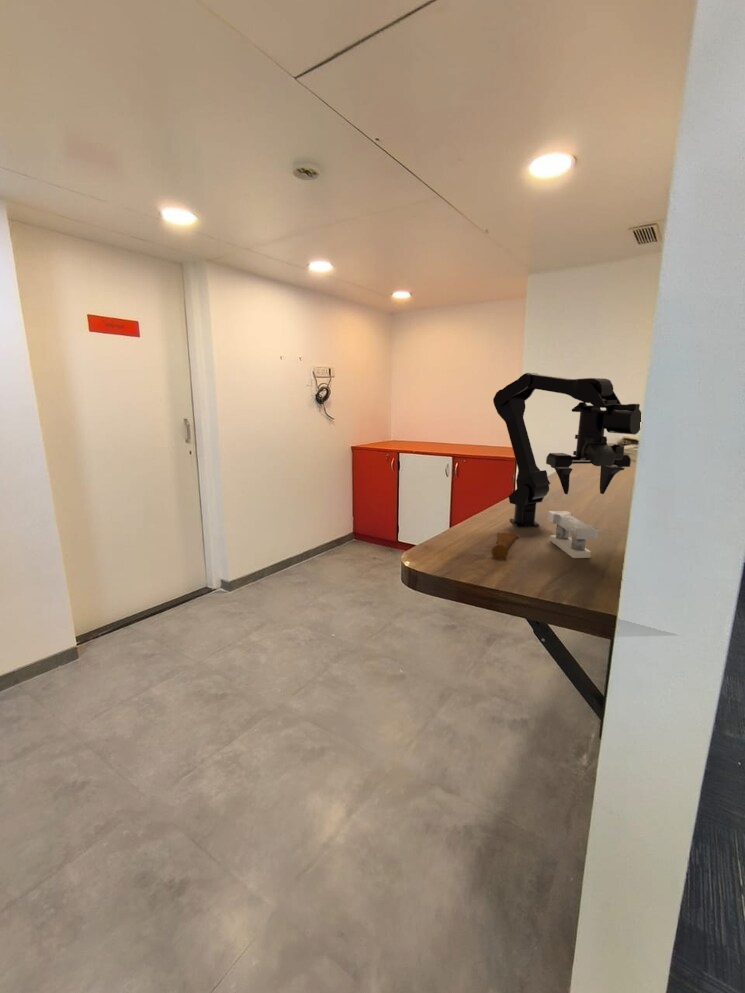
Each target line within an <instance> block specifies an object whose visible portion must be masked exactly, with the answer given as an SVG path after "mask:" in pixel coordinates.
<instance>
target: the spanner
mask: <svg viewBox="0 0 745 993" xmlns="http://www.w3.org/2000/svg"><path fill="white" fill-rule="evenodd" d="M547 514H548V515H547V521H548V522H550V523H551V524H553V525H555V524H556V525H557V524H558V525H560V526H561V527H563V528H564V529H566V530H567V531H569V536H570V537H571V538H572V537H574V538H575V539H586V540H598V538H599V537H598V536H599V530H600V528H599V527H596V526H595V525H593V524H587V523H585V522H583V521H581V520H580V519H578V518H576V517H575V516H574V514H573V513H571V512H569V511H568V510H548V513H547Z"/></svg>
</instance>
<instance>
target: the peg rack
mask: <svg viewBox="0 0 745 993" xmlns="http://www.w3.org/2000/svg"><path fill="white" fill-rule="evenodd" d="M555 531H556V532H555V534H553V535H550V538H549V540H550V542H551V543H552V544H554V545H555V546H557V548H559V549H560V550H562V551H563V552H564V553H565V554H566V555H569V556H570V557H571V558H573V559H586V558H587V559H590V558H591V553H592V551H591V550H589V549H588V548H586V545H587V539H575V538H574V537H572V536H570V532H569V531H567V530H566V529H564V528H563V527H561V526H560V525H558V524H556V530H555Z"/></svg>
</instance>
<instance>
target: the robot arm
mask: <svg viewBox="0 0 745 993" xmlns="http://www.w3.org/2000/svg"><path fill="white" fill-rule="evenodd" d="M535 390H540V391H547V392H551V393H556V394H557V393H558V394H564V395H568V396H569V397H571V398H573V399H575V400H577V401H580V402H578V404H576V406H574V407H573V408H572V409H571V412H572V413H579V420H578V421H579V422H578V431H577V434H575V435H574V439H575V440H576V448H575V450H573V453H572V455H570V454H567V453H564V452H550V453H548V455H547V456H546V460H545V461H546V462H545V464H546V465H548V466H550V467H551V468H553V469H554V470H555V472H556V474H557V476H558V478H559V479H558V480H559V481H560V482H559V483H560V485H561V487H562V491H563V493H564V494H565V495H568V494H569V490H570V476H571V473H572V471H573V468H571V465H572V464H573V465H575V464H576V465H577V464H579V465H580V464H583V465H584V464H586V465H587V464H591V465H592V466H595V467H600V476H599V493H600V494H602V495H604V494H605V493H606V491H607V489H608V487H609V485H610V484H611V483H612V482H611V481H612V480H613V479H614V477H615V475H616V474H618V473H620V471H624V470H625V468H630V467H631V463H632V459H631V457H630V454H626V453H625V446H624V445H622V444H613V445H608V443H607V442H608V438H607V436H605V430H606V432H607V433H609V434H610V433H611V434H621V435H636V434H639V432H640V430H641V428H640V422H641V414H642V411H641V410H640V406H641V405H640V403H628V404H622V403H621V400H620V399H619V398H618V396H617V395H616V393H615V391H614V385H613V383H612V381H611V380H610V379H608V378H603V377H601V378H600V377H598V378H596V377H588V378H587V377H585V378H584V377H583V378H574V379H573V378H566V377H560V376H559V377H558V376H552V375H544V374H539V373H537V372H526V373H523V374H522V375H521V376H520V377H518V378H517V379H516V380H514V381H513V382H510V383H509V384H507V385H506V386H505V387H503V388H502V389H499V390H498V391H496V393H495V395H494V397H493V405H494V407H495V410H496V412H497V415H499V417H500V418H501V419H502V420H503V421H504V423H505V425H506V429H507V432H508V436H509V440H510V444H511V447H512V451H513V455H514V458H515V462H516V466H517V470H518V472H517V476H516V480H515V484H516V489H515V490H514V491H513V492H511V493H510V494H509V495H508V501H509V504H510V505H511V504H512V505H514V512H513V513H514V515H513V518H509V521H510V522H511V523H512V524H514V526H516V527H519V528H521V527H525V528H526V527H540V523H537V521H536V514H537V513H536V512H537V504H538V503H543V500H544V498H545V497H546V496H547V495H548V493H549V492H550V485H551V482H550V480H549V476H548V473H547V470H540V467H538V466H537V462H536V459H535V455H534V453H533V448H532V445H531V441H530V436H529V433H528V431H527V427H526V423H525V420H524V416H525V411H526V401H527V400H528V399H529V398H530V397H532V395H533V393H534V391H535ZM588 404H591V405H588ZM602 408H605V410H604V409H602Z"/></svg>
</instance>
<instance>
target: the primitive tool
mask: <svg viewBox="0 0 745 993" xmlns="http://www.w3.org/2000/svg"><path fill="white" fill-rule="evenodd" d="M496 535H497V540H496V544H495V546H493V547H492V549H491V556H493V558H495V557H496V559H500V558H504V559H505V558H507V557H508V555H509V552H508V549H509V547H511V545H513V544H514V542H515V541H516V540H517V539H519V535H518V534H517V533H516V532H515V533H514V532H512V533H511V532H510V533H505V532H498V533H497V534H496Z"/></svg>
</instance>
